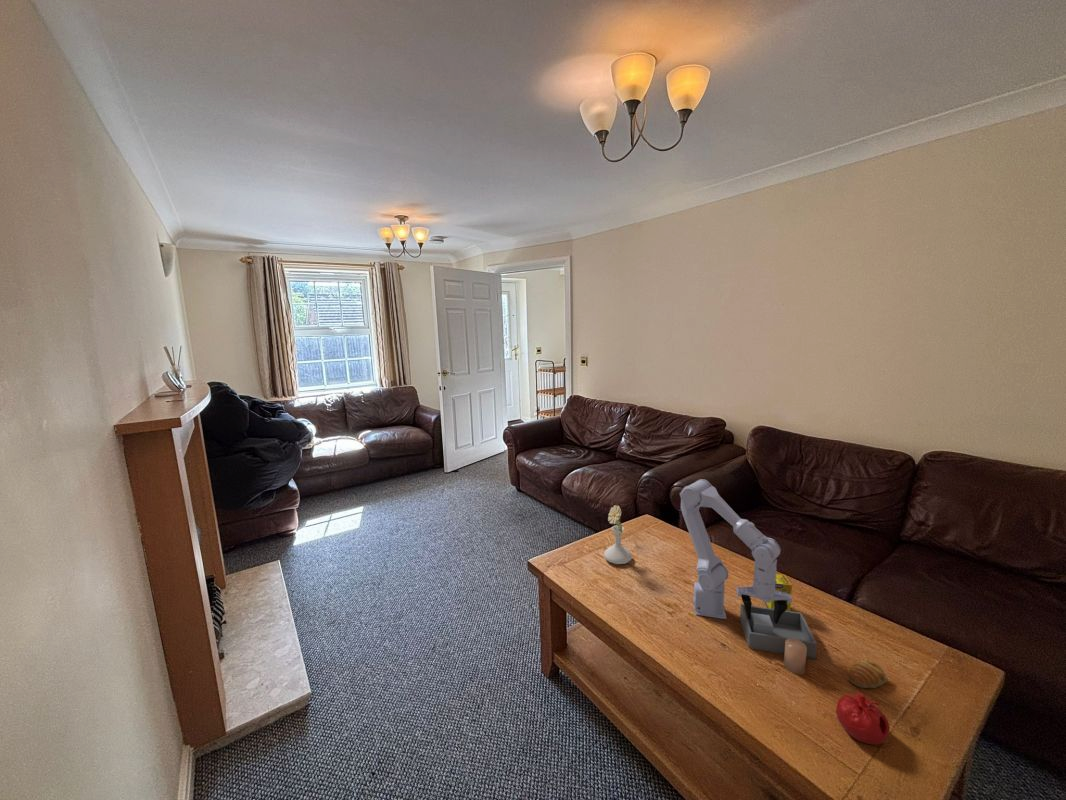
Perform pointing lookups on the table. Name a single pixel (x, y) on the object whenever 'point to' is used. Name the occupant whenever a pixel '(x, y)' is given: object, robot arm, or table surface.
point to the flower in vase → (617, 540)
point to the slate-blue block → (761, 624)
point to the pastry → (867, 674)
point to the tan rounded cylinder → (795, 656)
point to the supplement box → (781, 589)
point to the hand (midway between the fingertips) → (761, 619)
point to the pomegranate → (862, 719)
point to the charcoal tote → (779, 631)
